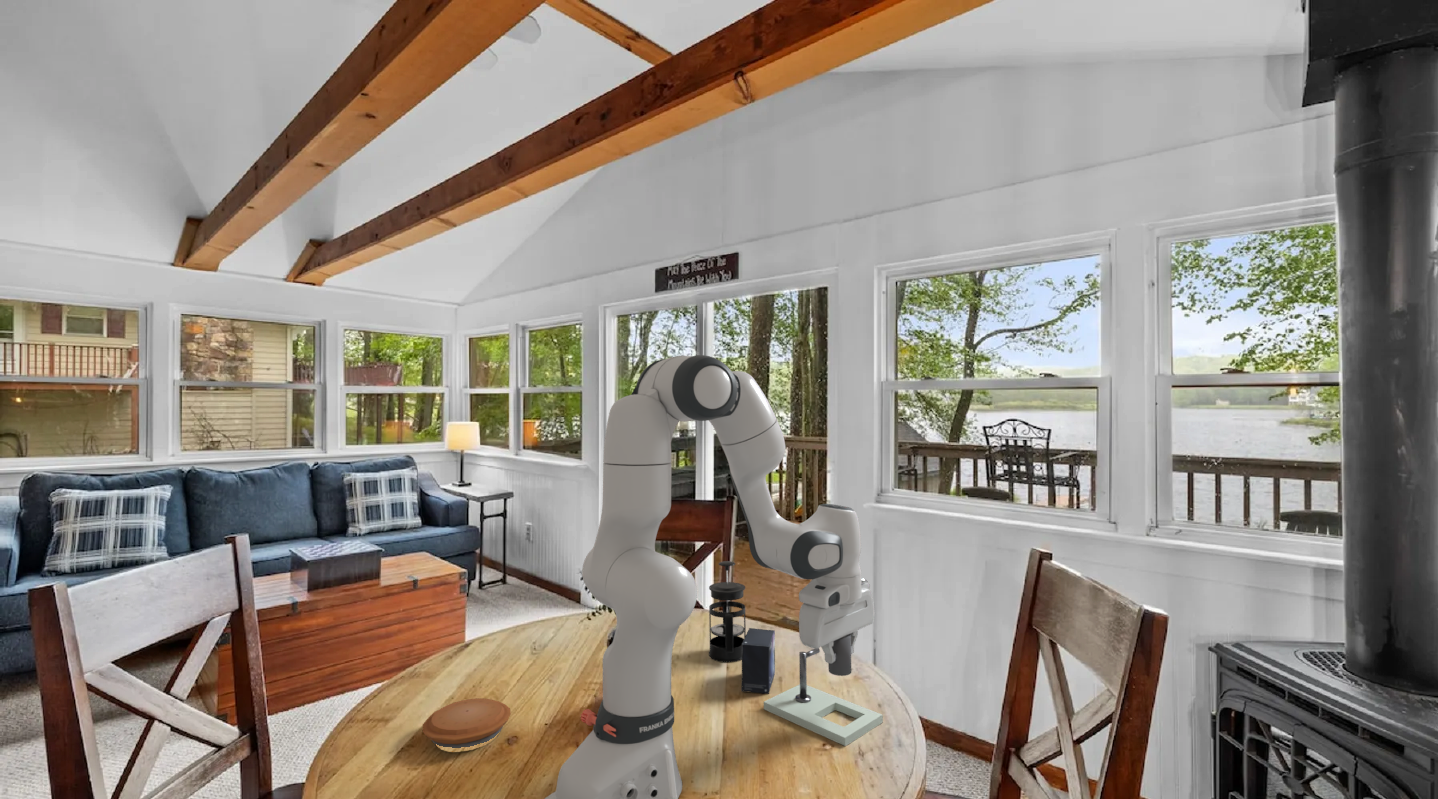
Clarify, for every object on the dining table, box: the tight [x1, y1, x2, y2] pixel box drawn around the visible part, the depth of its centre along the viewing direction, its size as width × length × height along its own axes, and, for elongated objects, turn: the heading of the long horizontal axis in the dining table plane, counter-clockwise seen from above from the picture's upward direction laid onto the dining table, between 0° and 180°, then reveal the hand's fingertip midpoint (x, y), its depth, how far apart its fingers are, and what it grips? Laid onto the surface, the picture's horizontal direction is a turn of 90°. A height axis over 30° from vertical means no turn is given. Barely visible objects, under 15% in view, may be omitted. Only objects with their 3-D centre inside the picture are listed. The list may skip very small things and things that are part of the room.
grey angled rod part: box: [795, 647, 821, 703], centre depth 134 cm, size 7×3×10 cm, turn 134°
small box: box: [740, 627, 776, 695], centre depth 144 cm, size 11×6×10 cm, turn 168°
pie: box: [421, 697, 512, 748], centre depth 122 cm, size 16×16×5 cm
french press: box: [708, 560, 747, 663], centre depth 160 cm, size 12×9×23 cm
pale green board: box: [763, 683, 884, 747], centre depth 129 cm, size 12×20×2 cm, turn 44°
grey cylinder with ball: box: [827, 634, 852, 677], centre depth 126 cm, size 4×4×8 cm
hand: (839, 657), depth 126 cm, fingers closed on grey cylinder with ball, 4 cm apart
